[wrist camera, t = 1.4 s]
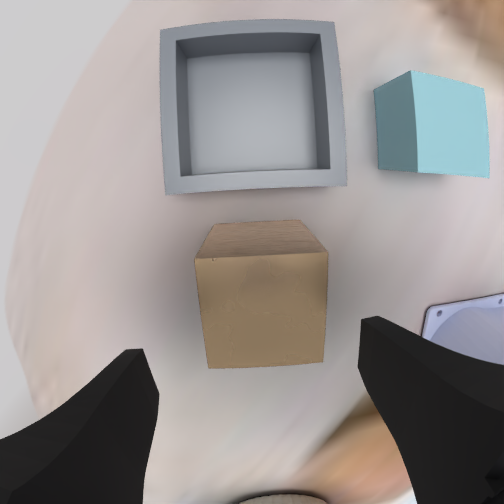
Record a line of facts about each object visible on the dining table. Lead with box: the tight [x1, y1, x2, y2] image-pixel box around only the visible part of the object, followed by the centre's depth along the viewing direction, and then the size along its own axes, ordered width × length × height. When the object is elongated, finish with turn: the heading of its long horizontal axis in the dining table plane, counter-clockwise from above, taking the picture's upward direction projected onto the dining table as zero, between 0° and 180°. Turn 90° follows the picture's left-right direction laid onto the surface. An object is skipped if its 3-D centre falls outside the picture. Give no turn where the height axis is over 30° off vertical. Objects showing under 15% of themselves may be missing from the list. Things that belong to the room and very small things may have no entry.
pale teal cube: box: [374, 70, 489, 178], centre depth 14 cm, size 5×5×5 cm
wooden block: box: [194, 220, 328, 368], centre depth 16 cm, size 5×5×7 cm
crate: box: [160, 19, 347, 195], centre depth 15 cm, size 9×9×4 cm
